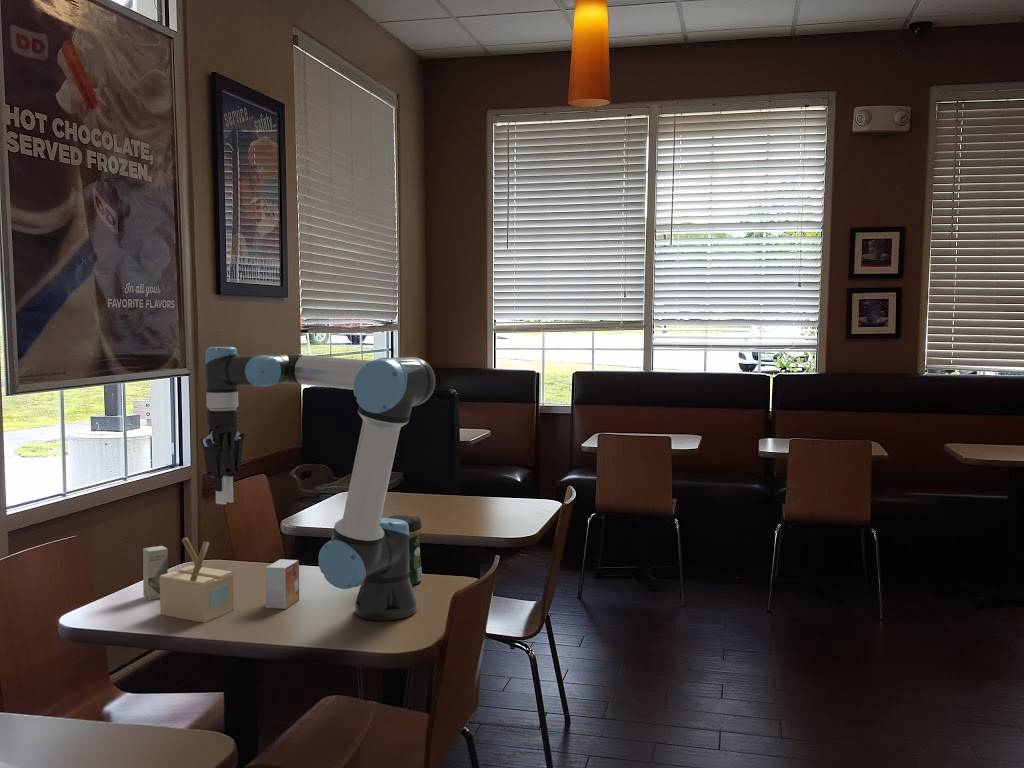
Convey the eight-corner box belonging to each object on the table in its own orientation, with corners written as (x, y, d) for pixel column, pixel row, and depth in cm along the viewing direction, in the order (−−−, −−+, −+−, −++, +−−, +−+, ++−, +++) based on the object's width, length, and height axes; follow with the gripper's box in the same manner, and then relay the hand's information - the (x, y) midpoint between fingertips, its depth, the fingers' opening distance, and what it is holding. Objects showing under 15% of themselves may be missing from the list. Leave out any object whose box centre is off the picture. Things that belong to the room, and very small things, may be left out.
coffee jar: (381, 584, 238) (380, 517, 237) (394, 576, 246) (394, 511, 245) (413, 587, 235) (413, 519, 234) (426, 579, 243) (425, 513, 242)
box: (148, 600, 224) (147, 551, 223) (143, 596, 228) (141, 548, 227) (169, 596, 228) (168, 548, 227) (163, 592, 231) (162, 544, 230)
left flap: (219, 578, 212) (218, 541, 212) (201, 585, 207) (200, 547, 206) (177, 572, 218) (176, 536, 217) (159, 578, 213) (158, 541, 212)
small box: (286, 609, 217) (285, 568, 217) (265, 608, 218) (264, 567, 218) (300, 599, 225) (299, 559, 224) (280, 598, 226) (279, 558, 225)
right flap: (233, 573, 217) (232, 537, 216) (215, 580, 211) (214, 542, 211) (191, 567, 222) (190, 531, 222) (173, 573, 217) (172, 537, 216)
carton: (234, 610, 217) (233, 574, 216) (204, 622, 208) (203, 585, 207) (191, 602, 223) (190, 568, 222) (160, 614, 214) (159, 578, 213)
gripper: (231, 405, 225) (233, 496, 226) (188, 411, 211) (191, 507, 213) (254, 407, 221) (256, 498, 223) (212, 412, 208) (214, 509, 210)
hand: (224, 502), depth 218 cm, fingers open, 2 cm apart
